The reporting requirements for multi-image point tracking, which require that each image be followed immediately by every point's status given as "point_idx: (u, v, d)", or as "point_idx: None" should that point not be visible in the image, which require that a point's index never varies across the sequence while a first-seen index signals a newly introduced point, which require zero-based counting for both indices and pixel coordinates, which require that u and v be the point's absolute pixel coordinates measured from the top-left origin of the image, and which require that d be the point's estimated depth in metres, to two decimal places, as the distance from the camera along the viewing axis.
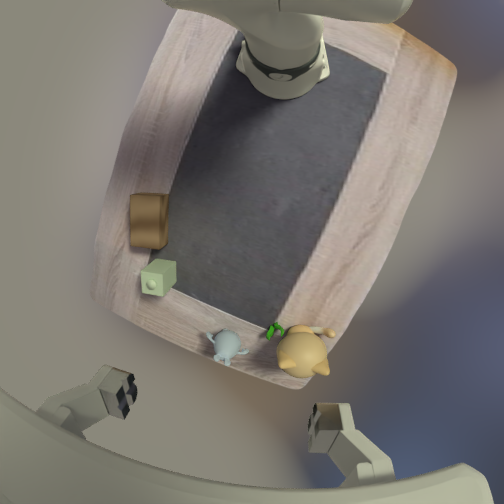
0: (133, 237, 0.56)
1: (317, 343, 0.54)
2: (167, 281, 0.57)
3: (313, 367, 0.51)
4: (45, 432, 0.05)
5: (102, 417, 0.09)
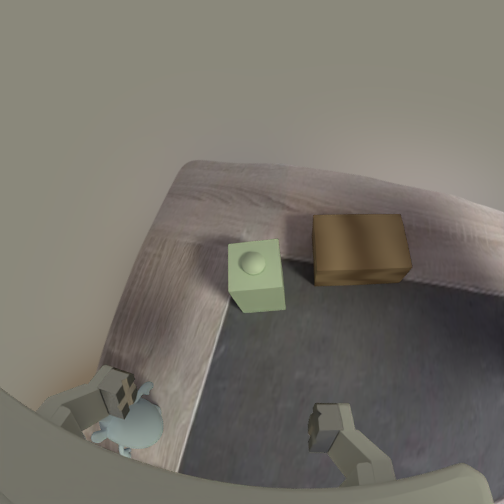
0: (330, 220, 0.31)
1: None
2: (257, 297, 0.28)
3: None
4: (45, 432, 0.05)
5: (102, 417, 0.09)
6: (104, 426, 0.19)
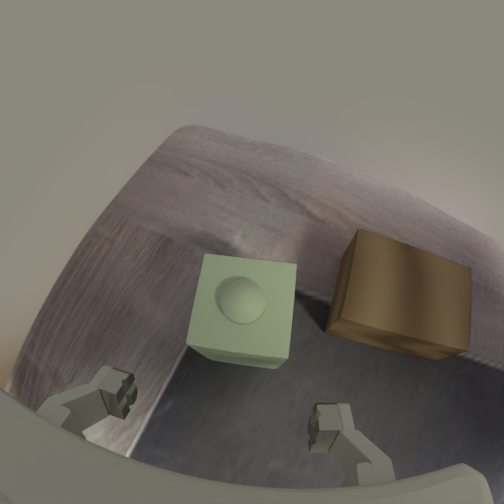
0: (381, 244, 0.19)
1: None
2: (236, 357, 0.15)
3: None
4: (45, 432, 0.05)
5: (102, 417, 0.09)
6: None
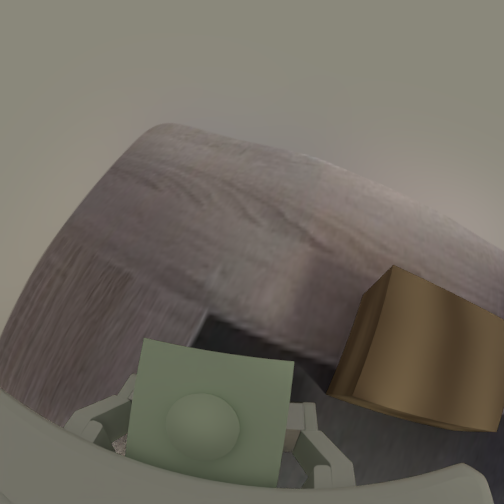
0: (420, 290, 0.13)
1: None
2: None
3: None
4: (45, 432, 0.05)
5: None
6: None
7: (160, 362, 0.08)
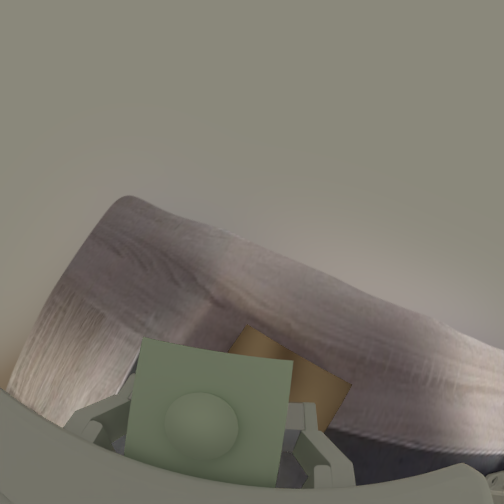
0: (261, 343, 0.23)
1: None
2: None
3: None
4: (45, 432, 0.05)
5: None
6: None
7: (159, 361, 0.08)
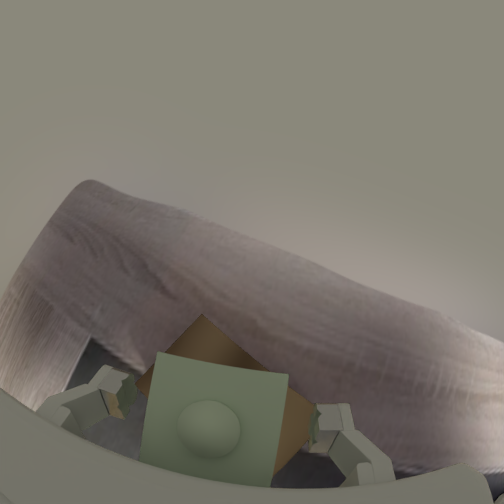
0: (215, 341, 0.18)
1: None
2: None
3: None
4: (45, 432, 0.05)
5: (102, 417, 0.09)
6: None
7: (172, 373, 0.09)
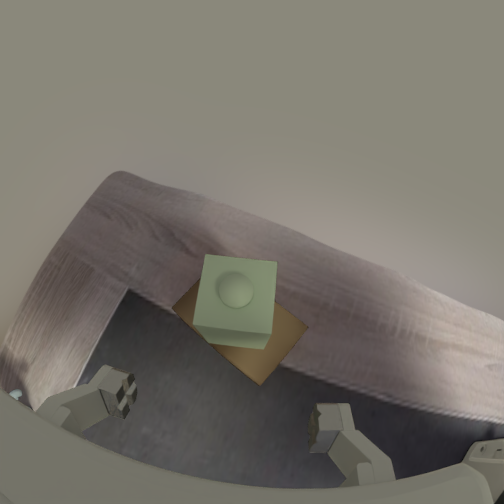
0: None
1: None
2: (231, 336, 0.19)
3: None
4: (45, 432, 0.05)
5: (102, 417, 0.09)
6: None
7: (214, 264, 0.19)
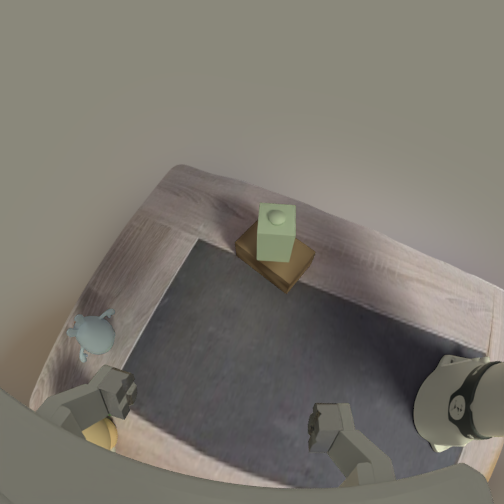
0: None
1: None
2: (274, 244, 0.39)
3: None
4: (45, 432, 0.05)
5: (102, 417, 0.09)
6: (76, 327, 0.33)
7: (264, 207, 0.38)
